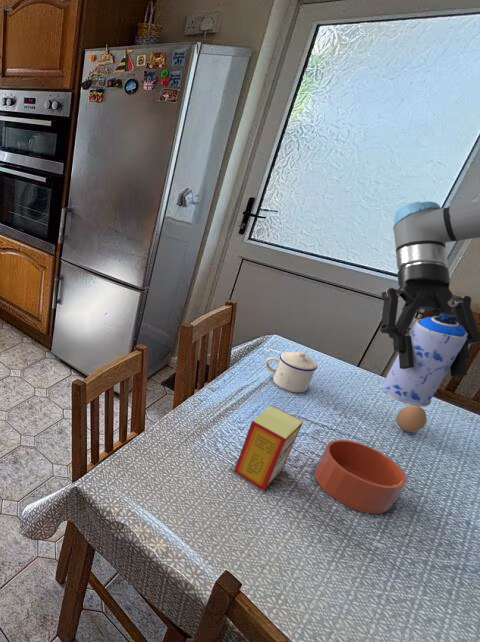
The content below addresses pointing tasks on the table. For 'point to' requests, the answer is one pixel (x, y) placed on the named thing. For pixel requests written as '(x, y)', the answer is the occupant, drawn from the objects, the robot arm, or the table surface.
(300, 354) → the teacup with lid
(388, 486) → the terracotta bowl
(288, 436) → the baking soda box
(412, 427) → the egg
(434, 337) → the aerosol can
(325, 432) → the table surface
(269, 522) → the table surface
